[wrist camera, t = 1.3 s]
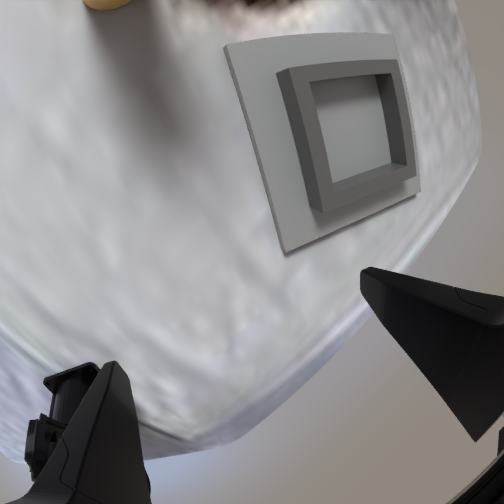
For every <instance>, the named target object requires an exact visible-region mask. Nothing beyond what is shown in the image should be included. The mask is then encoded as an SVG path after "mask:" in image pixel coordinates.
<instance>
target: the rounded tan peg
mask: <svg viewBox="0 0 504 504" xmlns="http://www.w3.org/2000/svg"><path fill="white" fill-rule="evenodd" d="M83 1H84V3H85V4H86V5H87V6H88V7H90V8H92V9H95V10H112V9H116V8H119V7H121V6H124V5H126V4H127V3H129V2H131V1H132V0H83Z"/></svg>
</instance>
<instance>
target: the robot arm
mask: <svg viewBox="0 0 504 504" xmlns="http://www.w3.org/2000/svg"><path fill="white" fill-rule="evenodd" d="M360 290H361V293H362V295H363V297H364V298H365V300H366V301H367V302H368V304H369V305H370V307H371V308H372V310H373V311H374V313H375V314H376V316H377V317H378V319H379V320H380V322H381V323H382V324H383V326H384V327H385V328H386V329H387V330H388V332H389V333H390V334H391V335H392V336H393V338H394V339H395V340H396V341H397V342H398V344H399V345H400V346H401V347H402V348H403V350H404V351H405V352H406V353H407V354H408V356H409V357H410V358H411V359H412V361H413V362H414V363H415V364H416V365H417V367H418V368H419V369H420V371H421V372H422V373H423V374H424V376H425V377H426V378H427V379H428V381H429V382H430V383H431V384H432V385H433V387H434V388H435V389H436V391H437V392H438V393H439V395H440V396H441V397H442V399H443V400H444V401H445V403H446V404H447V405H448V407H449V408H450V409H451V411H452V412H453V413H454V415H455V416H456V417H457V419H458V420H459V421H460V423H461V424H462V425H463V427H464V428H465V429H466V431H467V432H468V434H469V435H470V436H471V438H472V439H473V440H474V442H477V441H478V440H479V439H480V438H481V437H482V436H483V435H484V433H486V432H487V431H488V430H489V429H490V428H491V427H492V425H493V424H494V423H495V422H496V421H497V420H498V419H499V418H500V417H501V416H502V415H503V416H504V297H502V296H497V295H491V294H485V293H480V292H474V291H469V290H465V289H461V288H457V287H454V288H453V286H449V285H445V284H440V283H437V282H433V281H428V280H424V279H420V278H416V277H412V276H408V275H404V274H400V273H395V272H391V271H387V270H383V269H379V268H374V267H368V268H366V269H363V270H362V271H361V273H360ZM89 367H91V368H89ZM43 384H44V385H45V386H46V387H47V388H48V389H49V390H50V391H51V392H52V393H53V396H52V402H51V407H50V414H49V417H47V415H45V414H42V413H41V414H40V417H39V420H38V419H36V420H30V421H29V426H28V432H27V438H26V446H25V458H24V459H25V461H26V462H27V464H28V465H29V467H30V472H31V478H32V481H33V482H34V484H33V486H32V487H31V489H30V490H29V492H28V493H27V494H26V495H24V496H23V497H21V498H20V499H17V500H14V501H12V502H9V503H6V504H152V503H151V499H150V492H151V488H150V481H149V477H148V475H147V473H146V470H145V467H144V462H143V456H142V449H141V442H140V435H139V427H138V419H137V414H136V409H135V405H134V400H133V395H132V390H131V385H130V380H129V378H128V376H127V374H126V373H125V371H124V370H123V369H122V367H121V366H120V365H119V363H118V362H117V361H110V362H107V363H105V364H104V365H103V367H102V369H101V370H99V369H98V368H97V367H96V365H95V364H93V363H91V362H88V363H85V364H82V365H79V366H77V367H74V368H71V369H69V370H66V371H63V372H60V373H57V374H55V375H52V376H49V377H46V378H44V381H43ZM446 504H504V427H503V428H502V429H501V430H500V431H499V440H498V453H497V457H496V458H495V459H494V460H493V461H492V462H491V463H490V464H489V465H488V466H487V467H486V468H485V469H484V470H483V471H482V472H481V473H480V474H479V476H477V477H476V478H475V479H474V480H473V481H472V482H471V483H470V484H469V485H467V486H466V487H465V488H464V489H463V490H462V491H461V492H460V493H458V494H457V495H456V496H455V497H454V498H452V499H451V500H450V501H449V502H448V503H446Z"/></svg>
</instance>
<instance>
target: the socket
mask: <svg viewBox="0 0 504 504" xmlns="http://www.w3.org/2000/svg"><path fill="white" fill-rule="evenodd" d="M223 49H224V52H225V55H226V58H227V61H228V64H229V67H230V71H231V74H232V77H233V80H234V83H235V87H236V90H237V93H238V96H239V100H240V103H241V106H242V110H243V113H244V116H245V120H246V123H247V126H248V130H249V133H250V137H251V140H252V143H253V147H254V150H255V154H256V157H257V161H258V164H259V168H260V171H261V175H262V178H263V182H264V186H265V189H266V193H267V196H268V200H269V204H270V207H271V211H272V215H273V218H274V222H275V226H276V230H277V233H278V237H279V241H280V245H281V249H282V250H283V251H285V252H288V251H290V250H293V249H295V248H297V247H300V246H302V245H304V244H306V243H309V242H311V241H313V240H315V239H318V238H320V237H322V236H324V235H326V234H329V233H331V232H333V231H335V230H338V229H340V228H342V227H344V226H346V225H349V224H351V223H353V222H355V221H358V220H360V219H362V218H364V217H366V216H369V215H371V214H373V213H375V212H377V211H380V210H382V209H384V208H386V207H388V206H390V205H393V204H395V203H397V202H399V201H401V200H404V199H406V198H408V197H410V196H412V195H414V194H416V193H419V192H421V189H420V174H419V163H418V153H417V145H416V137H415V130H414V123H413V117H412V111H411V105H410V100H409V95H408V90H407V85H406V81H405V76H404V72H403V68H402V64H401V60H400V56H399V52H398V49H397V45H396V42H395V38H394V35H392V34H377V33H313V34H298V35H287V36H278V37H270V38H263V39H256V40H250V41H244V42H238V43H233V44H228V45H226V46H225V47H224V48H223Z"/></svg>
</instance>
